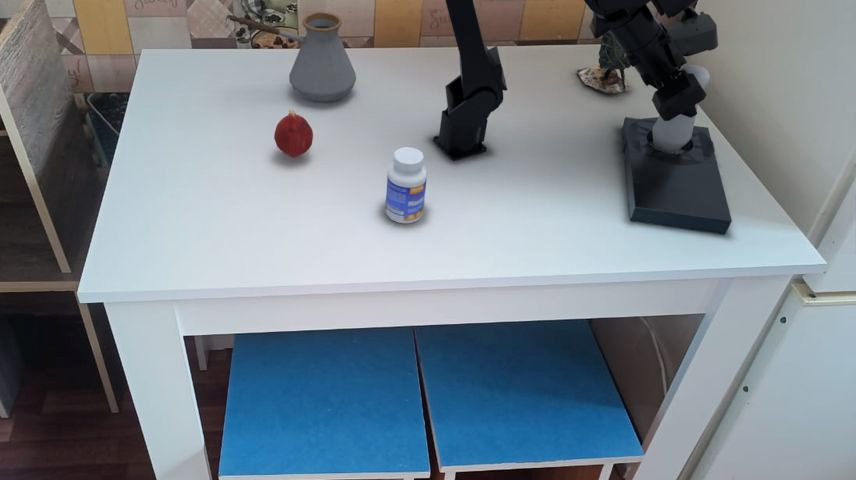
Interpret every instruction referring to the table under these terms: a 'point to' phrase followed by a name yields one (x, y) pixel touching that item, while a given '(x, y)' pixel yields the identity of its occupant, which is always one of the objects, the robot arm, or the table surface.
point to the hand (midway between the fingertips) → (690, 109)
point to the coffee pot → (316, 58)
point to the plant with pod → (607, 68)
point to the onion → (293, 135)
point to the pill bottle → (406, 186)
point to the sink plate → (673, 180)
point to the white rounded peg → (678, 120)
